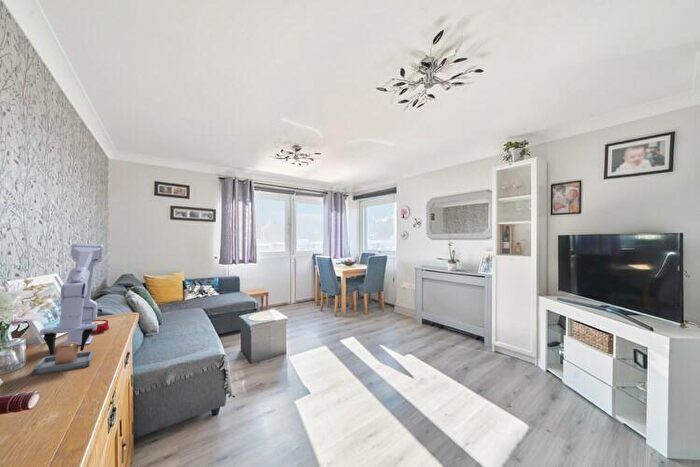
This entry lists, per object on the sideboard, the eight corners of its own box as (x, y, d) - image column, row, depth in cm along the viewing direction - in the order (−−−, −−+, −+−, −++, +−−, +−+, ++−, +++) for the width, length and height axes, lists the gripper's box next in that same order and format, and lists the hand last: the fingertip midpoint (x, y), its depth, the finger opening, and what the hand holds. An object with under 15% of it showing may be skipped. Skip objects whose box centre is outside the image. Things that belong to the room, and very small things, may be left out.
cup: (56, 361, 98) (58, 343, 98) (78, 358, 102) (80, 341, 102) (52, 367, 94) (54, 349, 94) (75, 364, 97) (77, 346, 98)
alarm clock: (112, 318, 141) (107, 319, 129) (110, 331, 140) (105, 333, 127) (85, 320, 135) (77, 322, 123) (83, 333, 134) (74, 336, 122)
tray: (42, 362, 98) (43, 357, 98) (93, 355, 106) (93, 350, 106) (33, 375, 89) (33, 369, 89) (89, 366, 98) (89, 360, 98)
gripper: (38, 320, 91) (34, 360, 90) (96, 315, 100) (92, 351, 99) (45, 314, 96) (40, 352, 96) (99, 310, 105) (95, 345, 105)
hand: (67, 351), depth 98 cm, fingers open, 7 cm apart
